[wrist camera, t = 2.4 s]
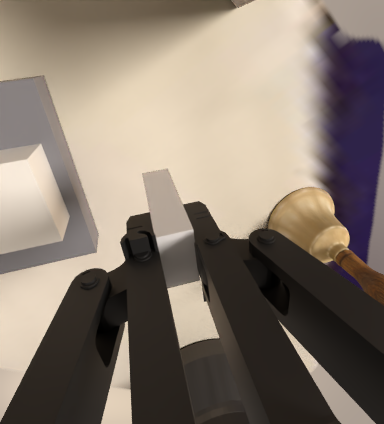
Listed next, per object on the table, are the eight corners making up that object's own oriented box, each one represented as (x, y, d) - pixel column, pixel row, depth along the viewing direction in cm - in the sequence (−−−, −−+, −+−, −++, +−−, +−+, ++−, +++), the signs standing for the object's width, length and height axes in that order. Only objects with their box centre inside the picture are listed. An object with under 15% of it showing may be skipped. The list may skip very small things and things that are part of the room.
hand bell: (330, 175, 30) (503, 271, 17) (334, 232, 35) (474, 345, 21) (260, 205, 30) (379, 327, 16) (273, 258, 34) (375, 390, 21)
